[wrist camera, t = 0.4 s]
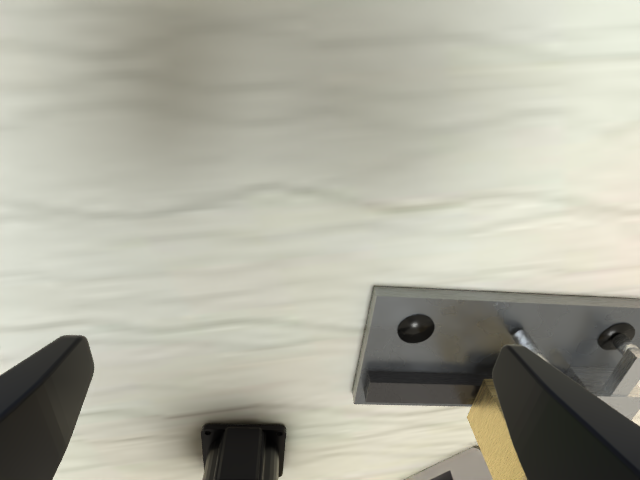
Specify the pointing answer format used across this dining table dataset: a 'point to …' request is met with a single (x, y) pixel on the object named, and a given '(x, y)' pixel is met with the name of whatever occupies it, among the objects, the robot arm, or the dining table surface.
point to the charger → (457, 468)
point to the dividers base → (493, 344)
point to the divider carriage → (497, 425)
